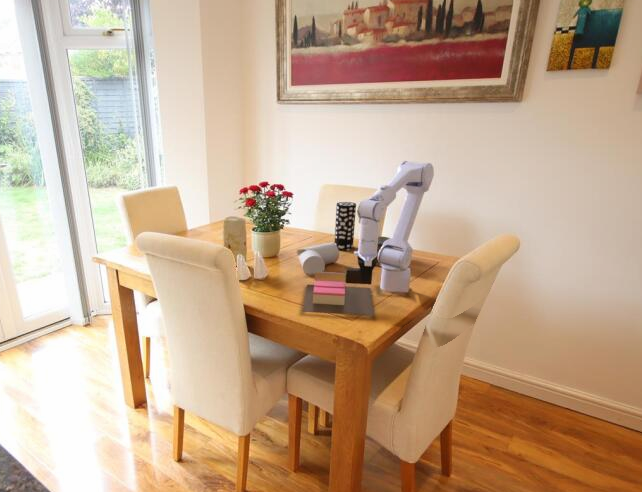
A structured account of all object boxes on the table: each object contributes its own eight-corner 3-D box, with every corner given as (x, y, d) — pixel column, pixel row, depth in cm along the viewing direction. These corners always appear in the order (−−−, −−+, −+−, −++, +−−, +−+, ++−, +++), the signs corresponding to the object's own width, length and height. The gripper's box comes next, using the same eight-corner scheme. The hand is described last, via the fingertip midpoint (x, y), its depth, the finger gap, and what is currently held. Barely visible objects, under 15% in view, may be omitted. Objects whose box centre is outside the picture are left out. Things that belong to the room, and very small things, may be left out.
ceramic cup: (396, 265, 186) (398, 241, 182) (375, 268, 182) (377, 244, 178) (376, 256, 197) (378, 233, 193) (356, 259, 193) (358, 236, 189)
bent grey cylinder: (290, 257, 194) (296, 274, 175) (297, 233, 189) (303, 248, 171) (331, 265, 195) (341, 282, 177) (338, 241, 191) (349, 256, 173)
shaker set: (268, 277, 176) (268, 249, 172) (268, 281, 173) (268, 253, 168) (237, 276, 178) (236, 249, 173) (236, 280, 174) (235, 252, 169)
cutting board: (369, 290, 162) (370, 287, 161) (374, 319, 141) (374, 316, 141) (307, 287, 166) (307, 284, 166) (302, 314, 145) (302, 311, 145)
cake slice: (344, 299, 152) (344, 288, 151) (344, 305, 148) (345, 293, 147) (313, 297, 154) (314, 286, 153) (312, 303, 150) (313, 292, 149)
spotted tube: (330, 246, 211) (333, 202, 203) (347, 244, 213) (349, 201, 205) (339, 251, 203) (342, 206, 196) (356, 249, 206) (359, 205, 198)
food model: (248, 262, 193) (247, 215, 185) (245, 268, 187) (244, 219, 179) (225, 261, 195) (224, 215, 187) (221, 266, 189) (219, 219, 181)
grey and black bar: (370, 281, 149) (372, 268, 147) (371, 284, 146) (372, 271, 145) (314, 279, 152) (315, 266, 150) (314, 281, 150) (314, 268, 148)
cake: (344, 289, 161) (344, 278, 159) (344, 298, 154) (344, 287, 152) (315, 287, 163) (315, 276, 161) (313, 296, 156) (314, 285, 154)
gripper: (354, 232, 149) (351, 271, 155) (355, 245, 136) (352, 287, 142) (377, 233, 148) (373, 272, 153) (380, 246, 135) (376, 289, 140)
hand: (364, 279), depth 148 cm, fingers closed on grey and black bar, 2 cm apart
